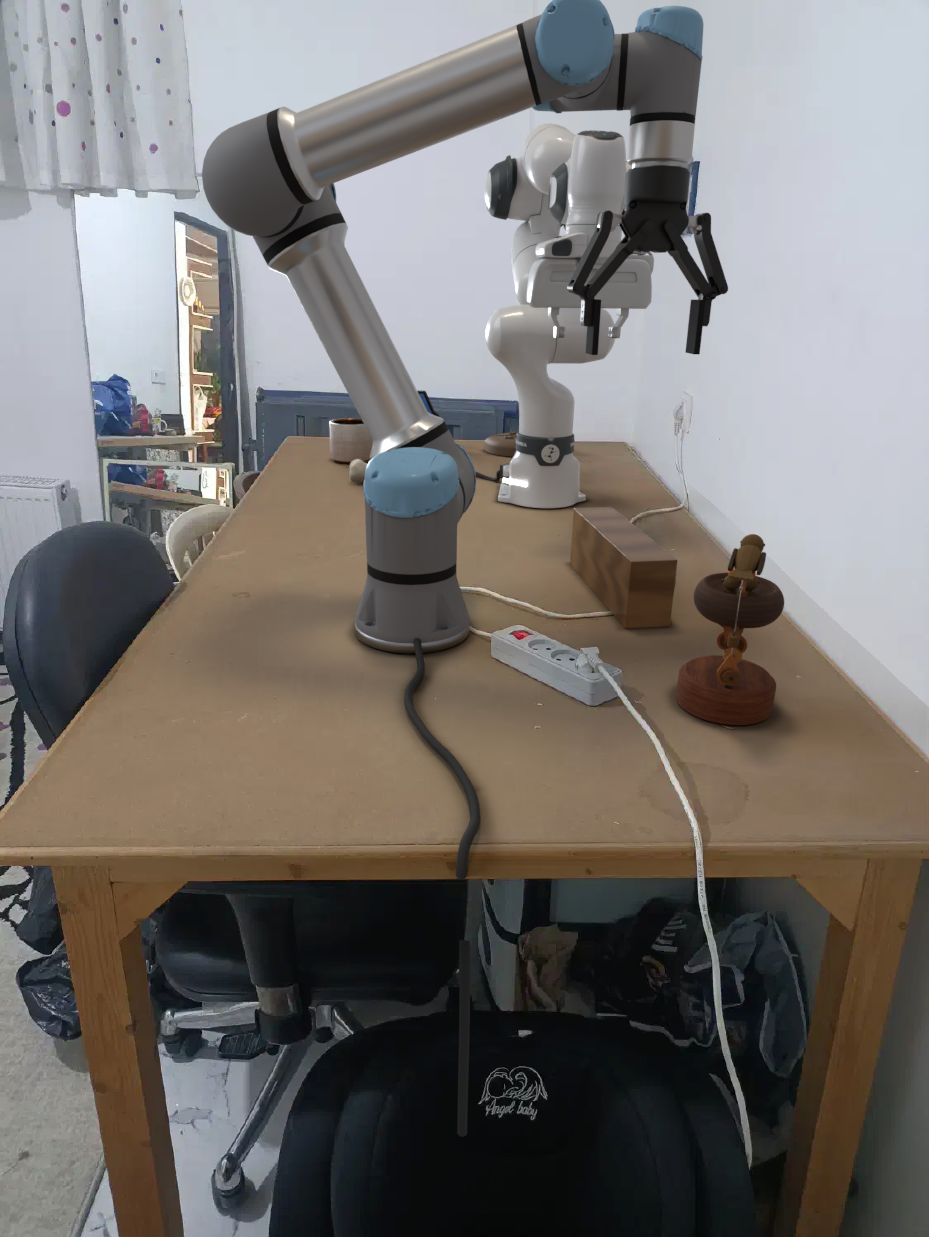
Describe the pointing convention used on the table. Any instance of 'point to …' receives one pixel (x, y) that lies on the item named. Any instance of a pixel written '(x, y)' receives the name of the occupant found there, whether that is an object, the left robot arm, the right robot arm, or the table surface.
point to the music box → (733, 642)
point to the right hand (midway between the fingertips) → (586, 338)
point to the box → (623, 567)
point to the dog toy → (357, 470)
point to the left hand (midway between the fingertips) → (642, 354)
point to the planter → (349, 440)
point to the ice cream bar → (501, 444)
